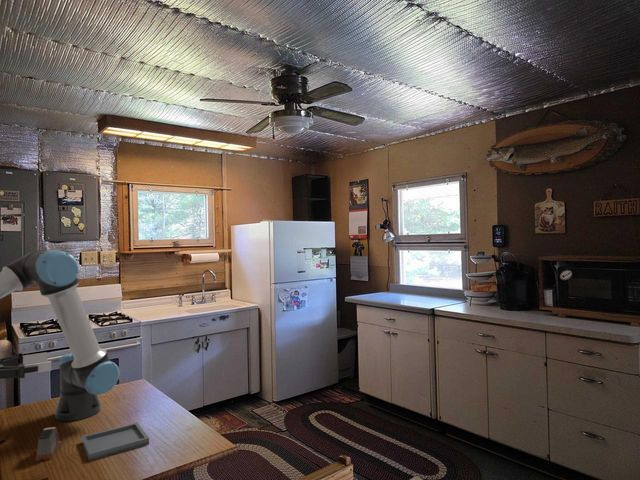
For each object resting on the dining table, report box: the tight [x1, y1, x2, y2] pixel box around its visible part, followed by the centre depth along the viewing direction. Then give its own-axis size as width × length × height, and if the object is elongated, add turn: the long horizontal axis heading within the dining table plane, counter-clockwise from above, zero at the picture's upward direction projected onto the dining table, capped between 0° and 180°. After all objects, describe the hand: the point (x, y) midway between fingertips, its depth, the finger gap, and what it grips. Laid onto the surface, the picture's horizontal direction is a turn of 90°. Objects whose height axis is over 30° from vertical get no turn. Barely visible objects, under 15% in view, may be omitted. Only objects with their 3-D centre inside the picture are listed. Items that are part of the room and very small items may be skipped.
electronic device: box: [35, 426, 63, 462], centre depth 133 cm, size 4×10×8 cm, turn 16°
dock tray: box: [81, 422, 150, 462], centre depth 138 cm, size 15×17×2 cm
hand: (49, 360), depth 135 cm, fingers open, 13 cm apart
